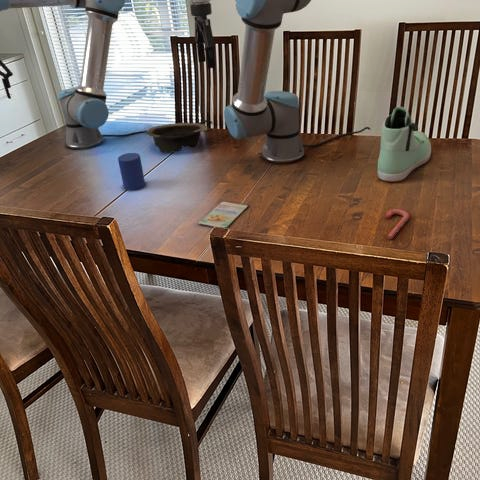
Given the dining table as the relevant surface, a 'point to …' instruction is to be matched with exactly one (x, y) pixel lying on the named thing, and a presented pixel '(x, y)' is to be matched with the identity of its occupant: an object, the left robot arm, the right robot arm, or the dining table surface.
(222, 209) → the baking ingredient package
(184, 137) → the stone bowl
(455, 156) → the dining table surface
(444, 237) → the dining table surface
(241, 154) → the dining table surface
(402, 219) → the candy cane
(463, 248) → the dining table surface
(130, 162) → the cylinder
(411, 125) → the sneaker
